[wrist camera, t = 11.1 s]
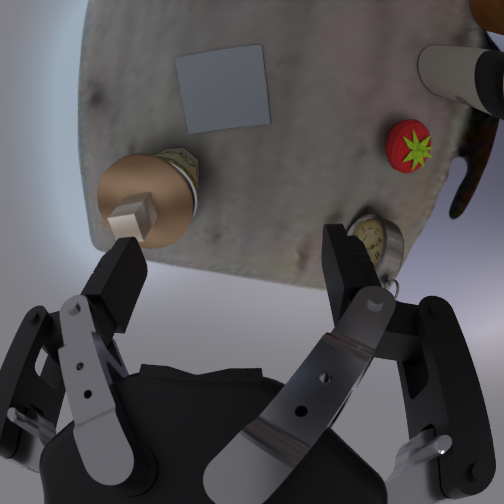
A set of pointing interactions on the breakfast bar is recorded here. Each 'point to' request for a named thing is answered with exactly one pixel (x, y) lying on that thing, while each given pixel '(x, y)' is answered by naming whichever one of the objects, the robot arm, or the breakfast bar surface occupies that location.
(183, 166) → the ceramic cup
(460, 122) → the breakfast bar surface
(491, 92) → the travel mug
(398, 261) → the alarm clock
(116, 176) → the lid
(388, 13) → the breakfast bar surface
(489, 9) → the disposable coffee cup
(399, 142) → the strawberry
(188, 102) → the mat
